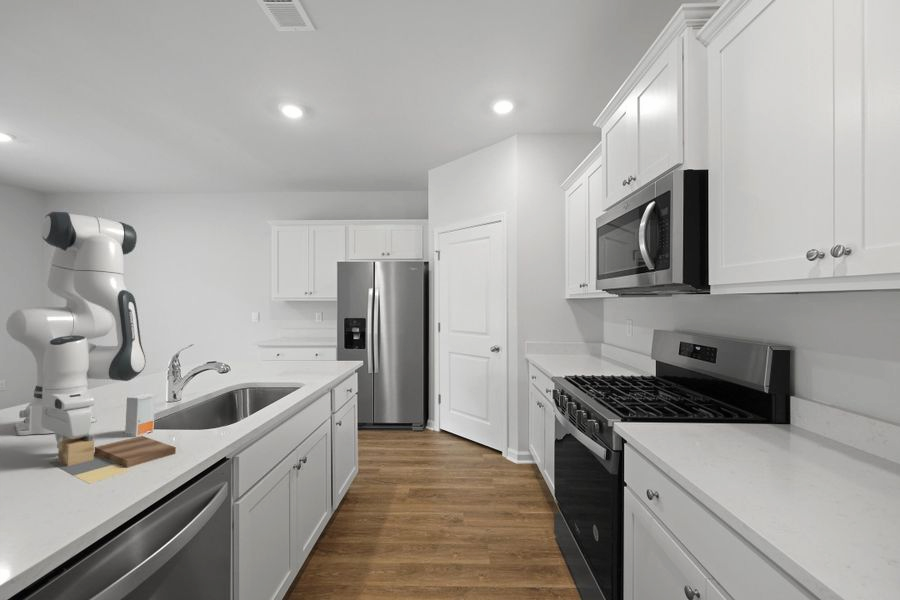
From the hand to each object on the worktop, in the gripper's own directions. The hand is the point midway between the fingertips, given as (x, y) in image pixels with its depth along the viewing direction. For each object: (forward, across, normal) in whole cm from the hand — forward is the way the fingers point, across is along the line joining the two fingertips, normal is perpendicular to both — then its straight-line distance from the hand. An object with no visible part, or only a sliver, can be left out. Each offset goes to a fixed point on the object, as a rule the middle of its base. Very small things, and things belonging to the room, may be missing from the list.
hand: (63, 449), depth 106 cm
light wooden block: (+1, +8, 0) cm, 8 cm away
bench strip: (+2, +15, 0) cm, 15 cm away
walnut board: (+2, +15, +10) cm, 18 cm away
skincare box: (+2, -3, +19) cm, 19 cm away
